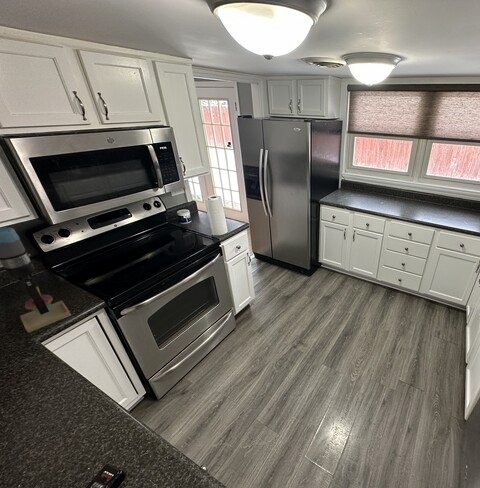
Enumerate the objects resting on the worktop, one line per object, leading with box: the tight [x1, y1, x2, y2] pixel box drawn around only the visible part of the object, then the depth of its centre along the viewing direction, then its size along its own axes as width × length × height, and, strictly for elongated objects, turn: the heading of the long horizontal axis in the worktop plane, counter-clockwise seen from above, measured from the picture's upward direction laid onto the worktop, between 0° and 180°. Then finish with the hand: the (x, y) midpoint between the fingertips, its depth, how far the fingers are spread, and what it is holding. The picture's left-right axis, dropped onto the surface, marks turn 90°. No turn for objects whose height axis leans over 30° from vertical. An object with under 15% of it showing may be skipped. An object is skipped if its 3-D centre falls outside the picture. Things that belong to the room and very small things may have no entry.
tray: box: [19, 300, 72, 334], centre depth 119 cm, size 13×14×2 cm
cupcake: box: [24, 285, 54, 313], centre depth 115 cm, size 9×8×12 cm
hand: (42, 308), depth 117 cm, fingers closed on cupcake, 8 cm apart
